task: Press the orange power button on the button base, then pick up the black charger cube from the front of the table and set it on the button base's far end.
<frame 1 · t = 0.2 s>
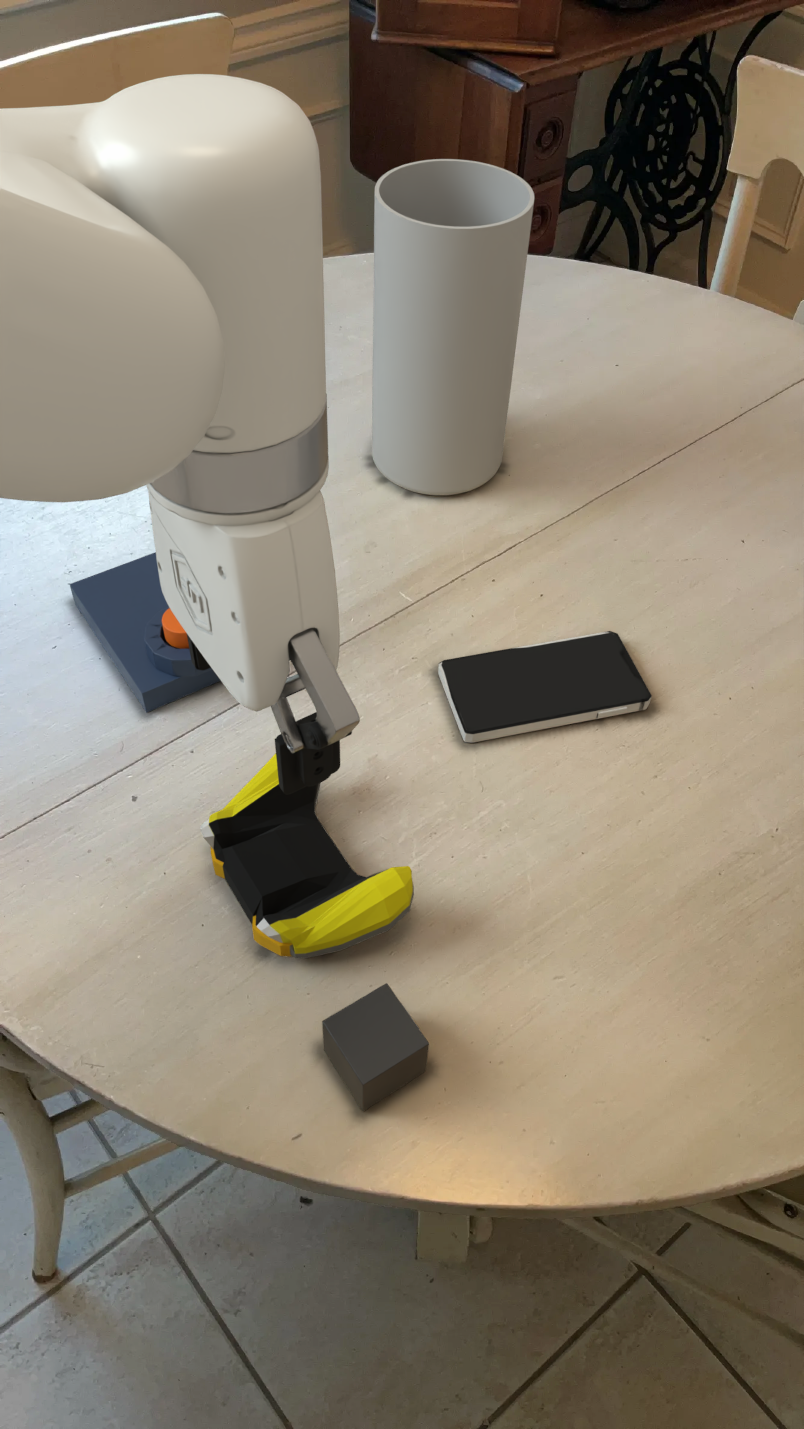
hand: (263, 716, 55), 19 cm above the table, tool pointing down, fingers open, 9 cm apart
cylinder vase: (436, 460, 101), on the table
charger: (374, 1060, 62), on the table
gaming controller: (302, 879, 70), on the table
button base: (167, 632, 85), on the table
power button: (184, 626, 79), point 4 cm above the table, slide at 0.1 cm
smartphone: (542, 691, 82), on the table
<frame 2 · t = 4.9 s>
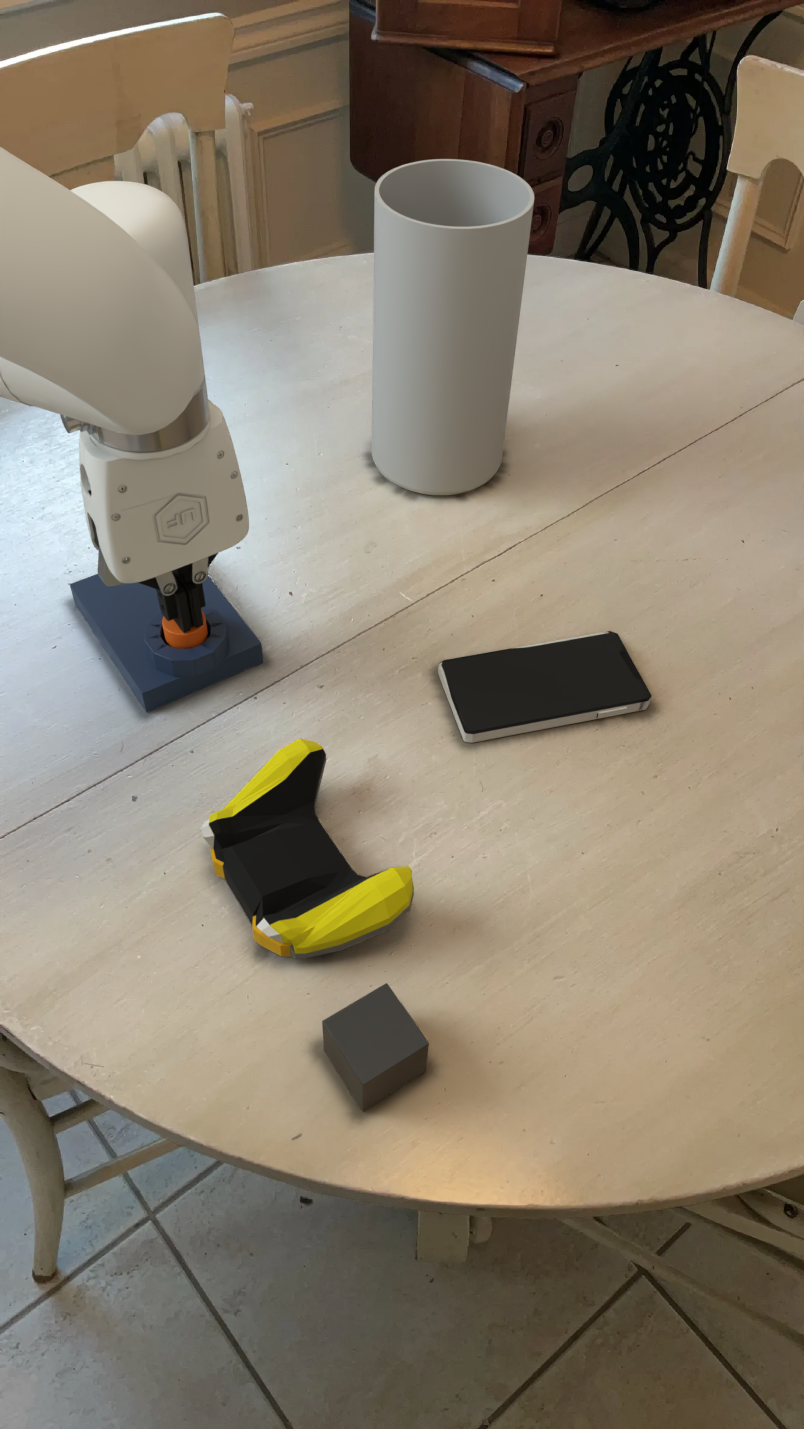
hand: (184, 617, 79), 5 cm above the table, tool pointing down, fingers closed
power button: (185, 627, 79), point 4 cm above the table, slide at -0.1 cm, touching gripper
everything else where it was.
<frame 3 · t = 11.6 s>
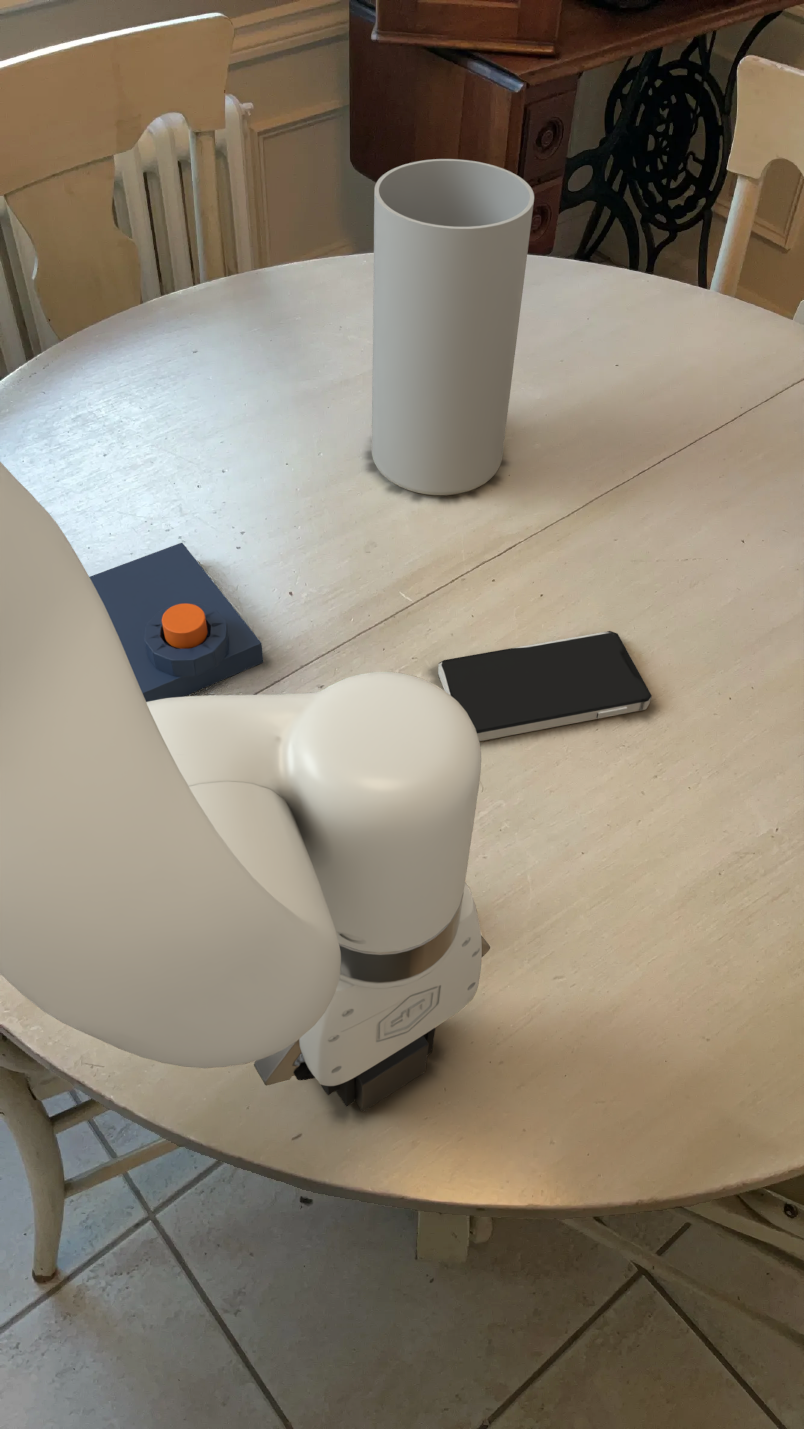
hand: (375, 1057, 62), 0 cm above the table, tool pointing down, fingers closed on charger, 4 cm apart
charger: (374, 1061, 62), on the table, touching gripper
power button: (184, 626, 79), point 4 cm above the table, slide at 0.1 cm
everything else where it was.
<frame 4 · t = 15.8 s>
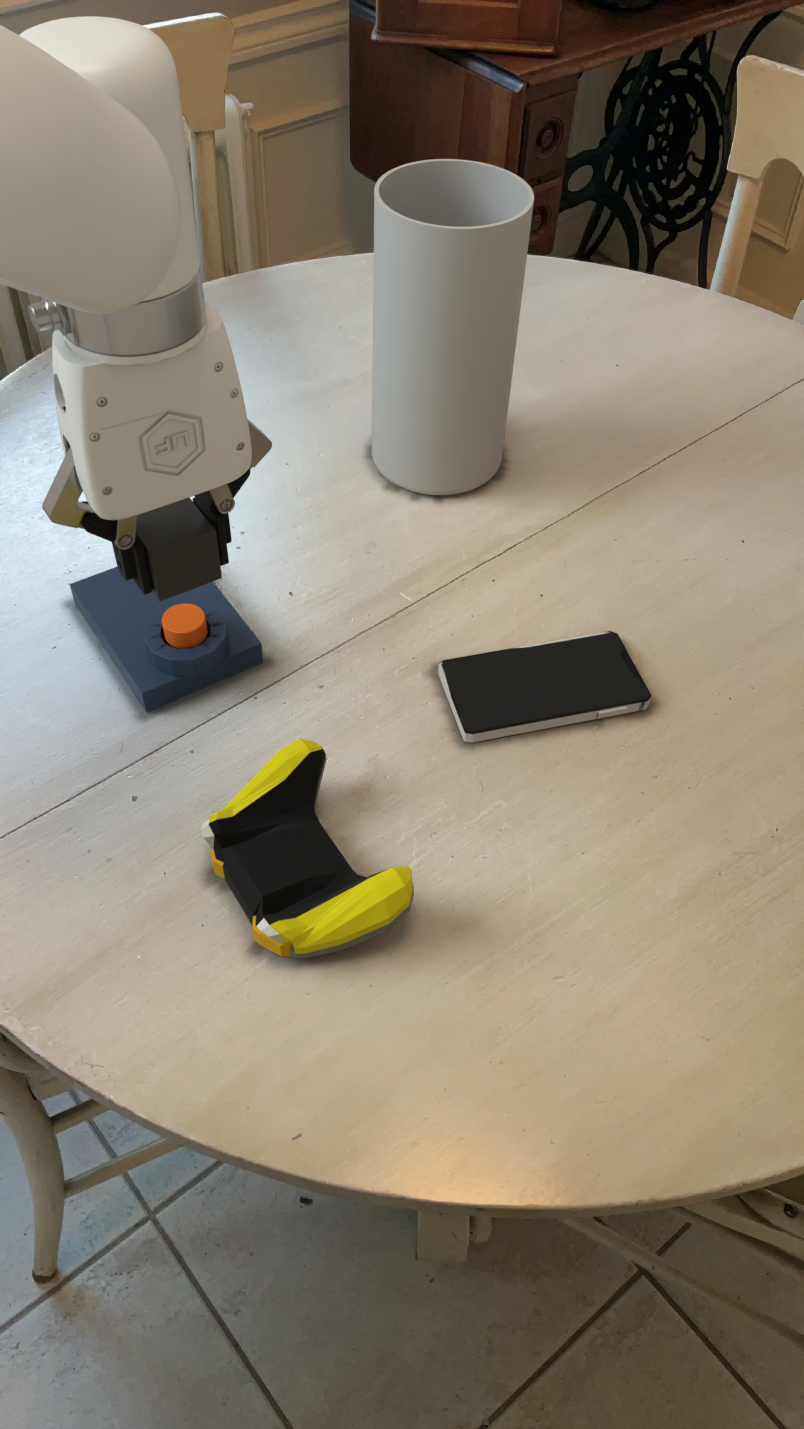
hand: (177, 564, 69), 15 cm above the table, tool pointing down, fingers closed on charger, 4 cm apart
charger: (176, 570, 69), point 14 cm above the table, touching gripper
everything else where it was.
when the fingers open (3 cm above the table, at t = 20.0 s): charger stays where it is, resting on button base.
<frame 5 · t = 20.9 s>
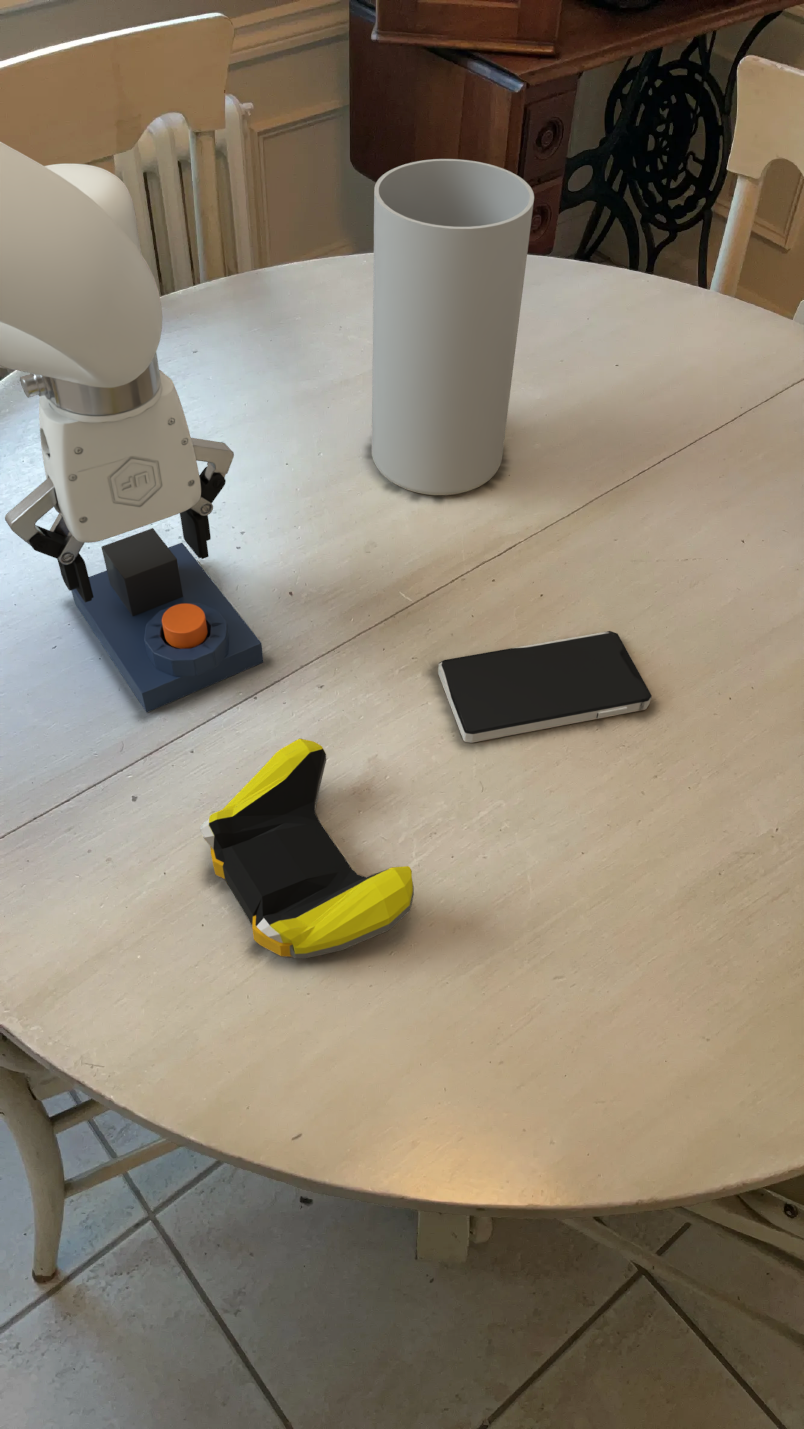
hand: (140, 569, 83), 5 cm above the table, tool pointing down, fingers open, 9 cm apart
charger: (146, 590, 85), point 2 cm above the table, touching button base
everything else where it was.
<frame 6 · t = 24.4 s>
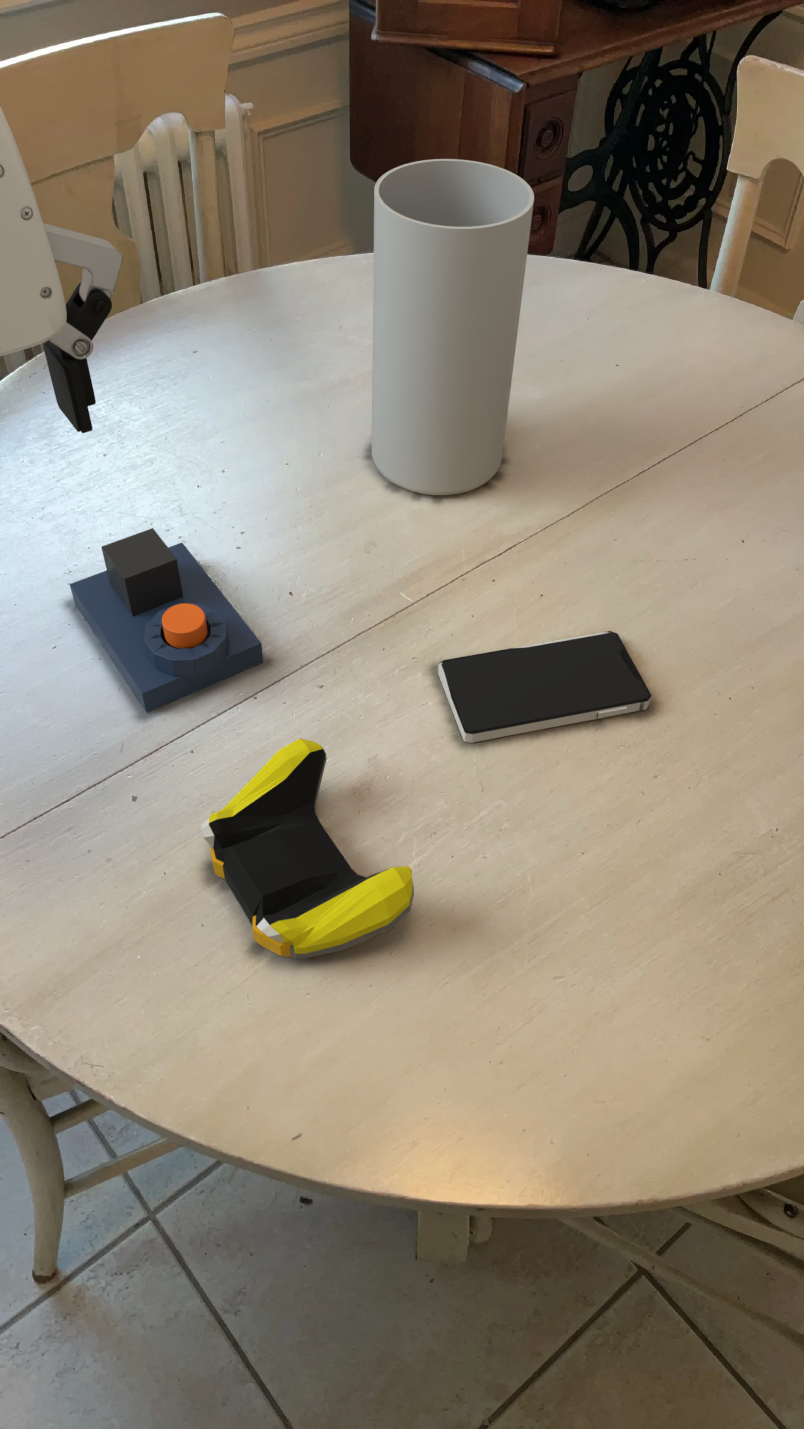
nothing on the table moved.
at the end: power button pushed in 1.1 cm at the most during the clip, back to where it started at the end; power button slide at 0.1 cm; charger inside the target area on the button base (0.2 cm from its centre), point 2.2 cm above the button base's base; charger touching button base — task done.
